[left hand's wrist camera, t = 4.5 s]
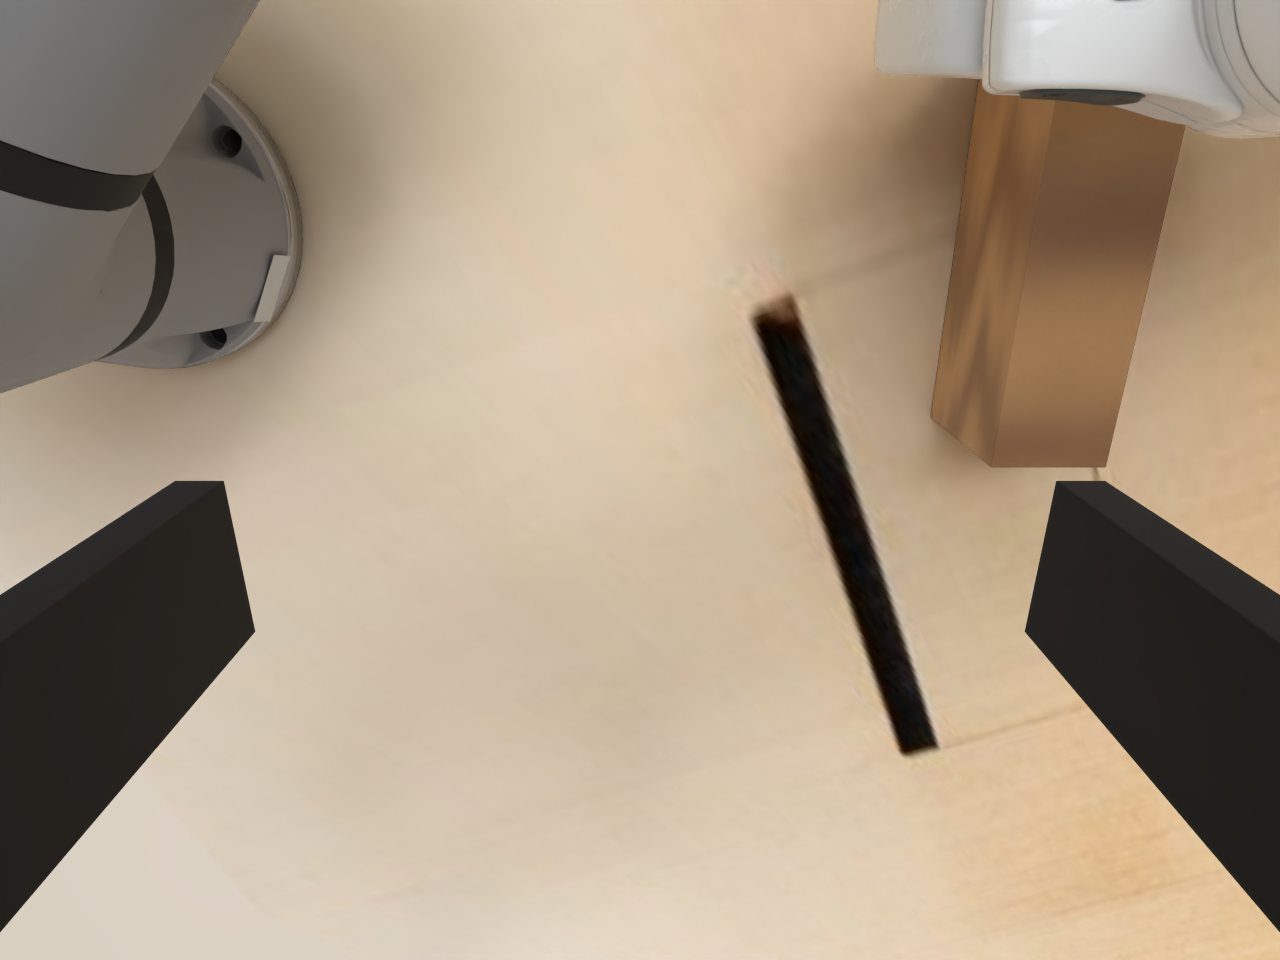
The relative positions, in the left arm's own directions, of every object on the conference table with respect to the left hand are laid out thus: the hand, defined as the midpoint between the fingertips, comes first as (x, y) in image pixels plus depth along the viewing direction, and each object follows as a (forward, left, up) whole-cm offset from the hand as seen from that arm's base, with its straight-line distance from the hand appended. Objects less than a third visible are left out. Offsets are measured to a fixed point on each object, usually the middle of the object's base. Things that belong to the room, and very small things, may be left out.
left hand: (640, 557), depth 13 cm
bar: (+17, +9, -31) cm, 36 cm away
